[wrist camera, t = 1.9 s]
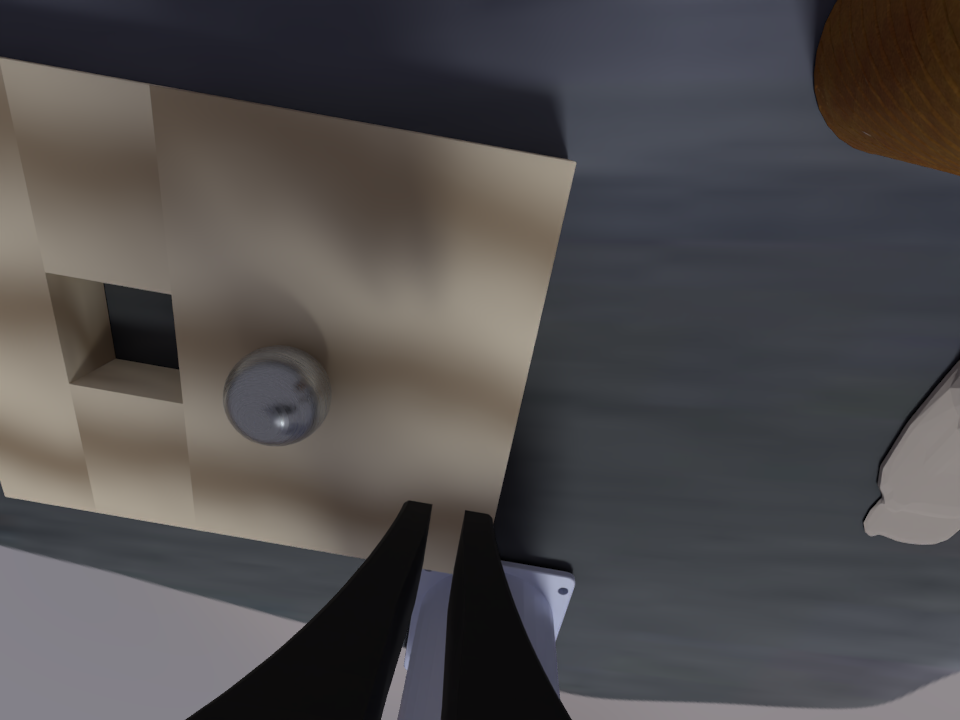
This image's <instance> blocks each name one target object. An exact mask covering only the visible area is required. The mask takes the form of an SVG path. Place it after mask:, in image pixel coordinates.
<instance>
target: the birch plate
mask: <svg viewBox="0 0 960 720" xmlns="http://www.w3.org/2000/svg"><path fill="white" fill-rule="evenodd" d="M575 166H576V162H574V161H572V160H569V159H564V158H558V157H552V156H547V155H541V154H536V153H530V152H525V151H519V150H514V149H508V148H503V147H497V146H492V145H486V144H481V143H475V142H470V141H464V140H459V139H453V138H448V137H442V136H437V135H431V134H425V133H420V132H414V131H409V130H403V129H398V128H392V127H387V126H381V125H376V124H370V123H365V122H359V121H354V120H348V119H343V118H337V117H332V116H326V115H321V114H315V113H309V112H304V111H298V110H293V109H287V108H282V107H276V106H271V105H265V104H260V103H254V102H249V101H243V100H238V99H232V98H227V97H221V96H216V95H210V94H205V93H199V92H193V91H188V90H182V89H177V88H171V87H166V86H160V85H155V84H149V83H144V82H138V81H133V80H127V79H122V78H116V77H111V76H105V75H100V74H94V73H89V72H83V71H77V70H72V69H66V68H61V67H55V66H50V65H44V64H39V63H33V62H28V61H22V60H17V59H11V58H6V57H0V481H1V485H2V488H3V491H4V494H5V497H10V498H16V499H22V500H28V501H33V502H39V503H45V504H51V505H57V506H62V507H68V508H74V509H80V510H85V511H91V512H97V513H103V514H108V515H114V516H120V517H126V518H132V519H137V520H143V521H149V522H155V523H160V524H166V525H172V526H178V527H183V528H189V529H195V530H201V531H207V532H212V533H218V534H224V535H230V536H235V537H241V538H247V539H253V540H258V541H264V542H270V543H276V544H281V545H287V546H293V547H299V548H305V549H310V550H316V551H322V552H328V553H333V554H339V555H345V556H351V557H356V558H362V559H367V558H368V556H369V555H370V554H371V553H372V551H373V550H374V549H375V547H376V546H377V545H378V543H379V542H380V541H381V539H382V538H383V536H384V535H385V534H386V532H387V531H388V529H389V528H390V526H391V525H392V523H393V522H394V520H395V518H396V517H397V515H398V513H399V512H400V510H401V508H402V506H403V504H404V503H405V502H407V501H408V500H411V501H416V502H422V503H428V504H433V505H432V511H431V518H430V524H429V530H428V537H427V543H426V549H425V556H424V562H423V567H422V569H426V570H431V571H437V572H443V573H449V574H453V570H454V565H455V560H456V555H457V550H458V544H459V539H460V534H461V529H462V524H463V519H464V514H465V510H468V511H474V512H479V513H485V514H489V515H490V516H491V517H492V519H493V523H494V519H495V515H496V510H497V506H498V501H499V497H500V493H501V488H502V484H503V480H504V475H505V471H506V467H507V462H508V458H509V454H510V449H511V445H512V441H513V436H514V432H515V427H516V423H517V419H518V414H519V410H520V406H521V401H522V397H523V393H524V388H525V384H526V380H527V375H528V371H529V367H530V362H531V358H532V354H533V349H534V345H535V340H536V336H537V332H538V327H539V323H540V319H541V314H542V310H543V306H544V301H545V297H546V293H547V288H548V284H549V280H550V275H551V271H552V266H553V262H554V258H555V253H556V249H557V245H558V240H559V236H560V232H561V227H562V223H563V219H564V214H565V210H566V206H567V201H568V197H569V192H570V188H571V184H572V179H573V175H574V171H575ZM103 283H108V284H114V285H120V286H125V287H131V288H137V289H142V290H148V291H154V292H159V293H165V294H170V295H172V305H173V314H174V323H175V333H176V342H177V352H178V361H179V370H178V369H172V368H167V367H161V366H155V365H150V364H144V363H138V362H133V361H127V360H121V359H116V357H115V351H114V345H113V339H112V333H111V327H110V321H109V315H108V309H107V303H106V297H105V291H104V285H103ZM275 345H282V346H290V347H294V348H298V349H300V350H303V351H305V352H307V353H308V354H310V355H311V356H312V357H314V358H315V359H316V360H317V361H318V362H319V363H320V364H321V365H322V367H323V368H324V369H325V371H326V373H327V375H328V377H329V380H330V384H331V389H332V400H331V405H330V409H329V412H328V414H327V416H326V418H325V420H324V421H323V423H322V424H321V426H320V427H319V428H318V429H317V430H316V431H315V432H314V433H312V434H311V435H310V436H309V437H307V438H305V439H303V440H302V441H300V442H297V443H294V444H291V445H286V446H265V445H261V444H258V443H255V442H252V441H250V440H248V439H247V438H245V437H243V436H242V435H241V434H240V433H238V432H237V431H236V430H235V428H234V427H233V426H232V425H231V423H230V422H229V420H228V418H227V416H226V413H225V410H224V406H223V389H224V385H225V382H226V379H227V376H228V375H229V373H230V371H231V370H232V368H233V367H234V366H235V364H236V363H237V362H238V361H240V360H241V359H242V358H243V357H244V356H246V355H248V354H249V353H251V352H253V351H255V350H257V349H260V348H263V347H268V346H275Z"/></svg>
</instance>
